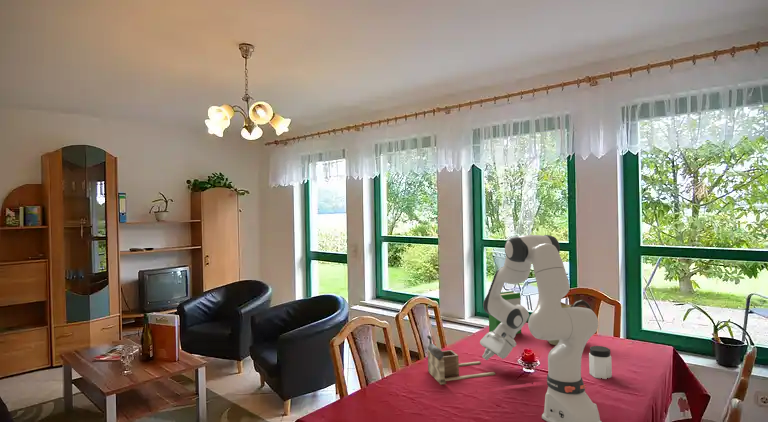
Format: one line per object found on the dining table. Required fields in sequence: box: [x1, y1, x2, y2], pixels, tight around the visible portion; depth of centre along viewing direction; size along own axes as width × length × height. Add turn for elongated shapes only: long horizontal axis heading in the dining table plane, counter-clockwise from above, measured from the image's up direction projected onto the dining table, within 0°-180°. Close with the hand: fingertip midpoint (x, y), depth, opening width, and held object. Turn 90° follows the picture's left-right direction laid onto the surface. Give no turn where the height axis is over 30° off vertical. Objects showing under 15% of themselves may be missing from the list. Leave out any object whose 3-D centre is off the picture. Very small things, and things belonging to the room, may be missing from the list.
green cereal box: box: [488, 290, 522, 335], centre depth 266 cm, size 18×7×24 cm, turn 112°
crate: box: [441, 349, 460, 378], centre depth 202 cm, size 8×8×9 cm
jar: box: [588, 345, 613, 380], centre depth 198 cm, size 9×8×12 cm
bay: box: [426, 335, 496, 385], centre depth 204 cm, size 17×27×17 cm, turn 104°
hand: (484, 358), depth 206 cm, fingers closed
